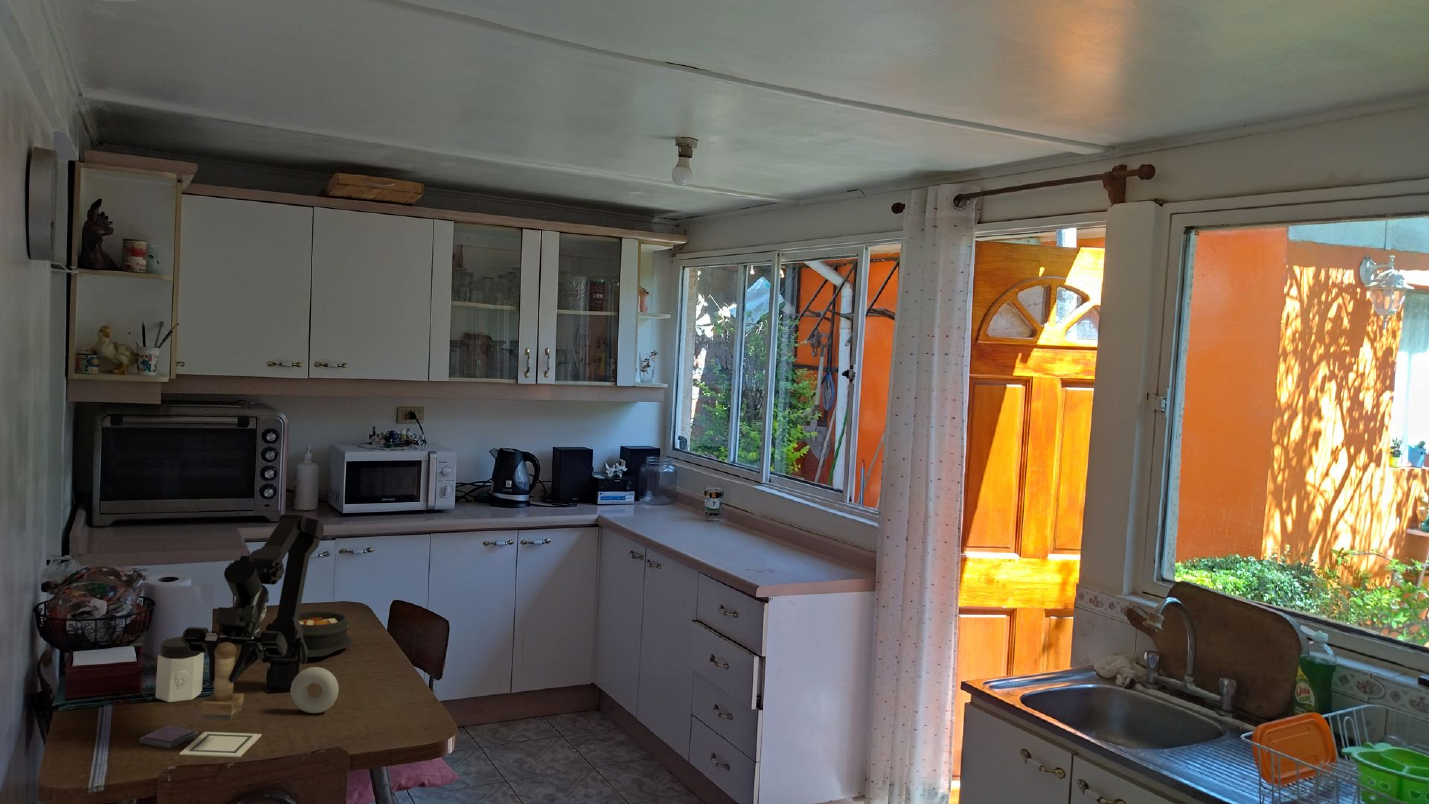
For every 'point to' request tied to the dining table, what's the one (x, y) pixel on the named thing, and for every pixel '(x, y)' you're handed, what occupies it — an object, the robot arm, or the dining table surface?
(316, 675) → the donut
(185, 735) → the ink pad
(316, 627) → the casserole
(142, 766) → the dining table surface
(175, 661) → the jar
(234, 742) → the print card
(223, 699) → the stamp
